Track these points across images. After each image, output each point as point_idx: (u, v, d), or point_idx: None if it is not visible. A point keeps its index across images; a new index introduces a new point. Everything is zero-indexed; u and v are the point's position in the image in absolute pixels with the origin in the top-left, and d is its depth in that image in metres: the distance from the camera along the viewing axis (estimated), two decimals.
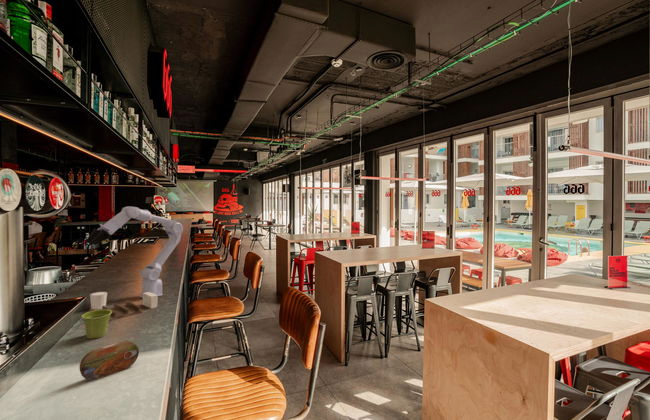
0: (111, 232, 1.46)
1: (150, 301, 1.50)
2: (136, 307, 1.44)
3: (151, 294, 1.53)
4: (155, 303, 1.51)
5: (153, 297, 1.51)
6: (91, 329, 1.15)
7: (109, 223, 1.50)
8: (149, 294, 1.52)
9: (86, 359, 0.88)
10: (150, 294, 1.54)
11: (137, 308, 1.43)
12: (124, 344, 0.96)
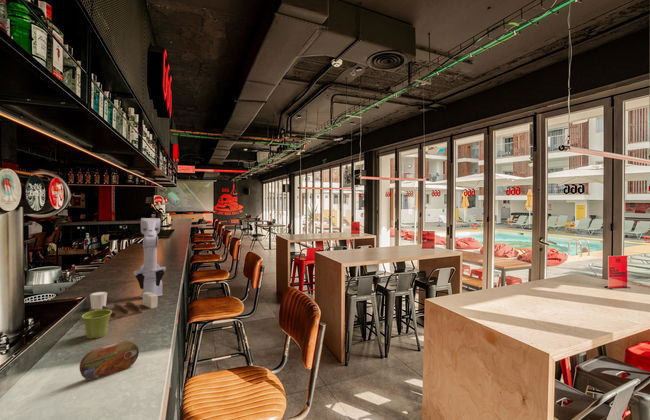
0: None
1: (150, 301, 1.50)
2: (136, 307, 1.44)
3: (151, 294, 1.53)
4: (155, 303, 1.51)
5: (153, 297, 1.51)
6: (91, 329, 1.15)
7: (155, 264, 1.53)
8: (149, 294, 1.52)
9: (86, 359, 0.88)
10: (150, 294, 1.54)
11: (137, 308, 1.43)
12: (124, 344, 0.96)
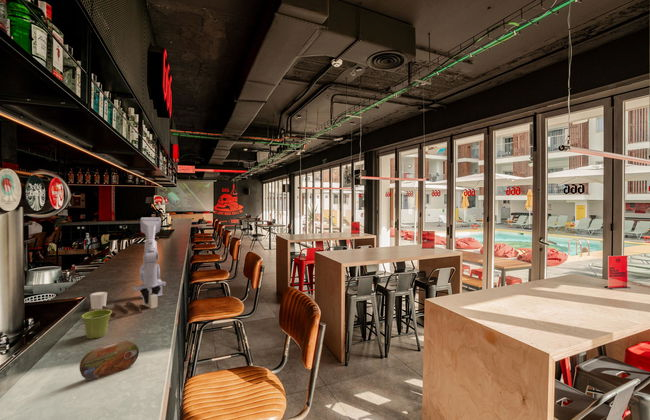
0: None
1: (150, 301, 1.50)
2: (136, 307, 1.44)
3: (151, 294, 1.53)
4: (155, 303, 1.51)
5: (153, 297, 1.51)
6: (91, 329, 1.15)
7: (156, 279, 1.54)
8: (149, 294, 1.52)
9: (86, 359, 0.88)
10: (150, 293, 1.54)
11: (137, 308, 1.43)
12: (124, 344, 0.96)
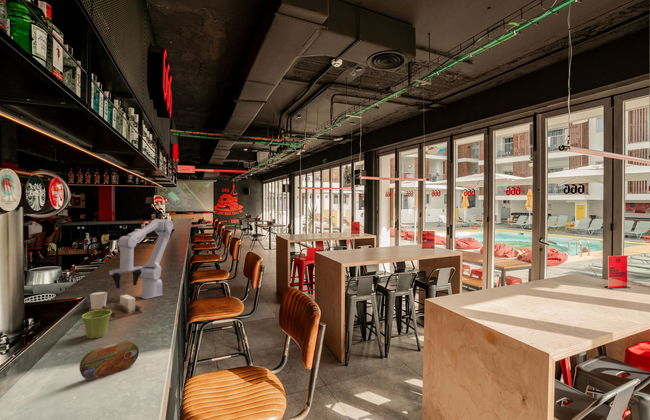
0: None
1: (127, 304, 1.42)
2: (136, 307, 1.44)
3: (128, 297, 1.44)
4: (132, 306, 1.43)
5: (130, 300, 1.42)
6: (91, 329, 1.15)
7: (132, 264, 1.54)
8: (127, 297, 1.44)
9: (86, 359, 0.88)
10: (128, 296, 1.45)
11: (137, 308, 1.43)
12: (124, 344, 0.96)
